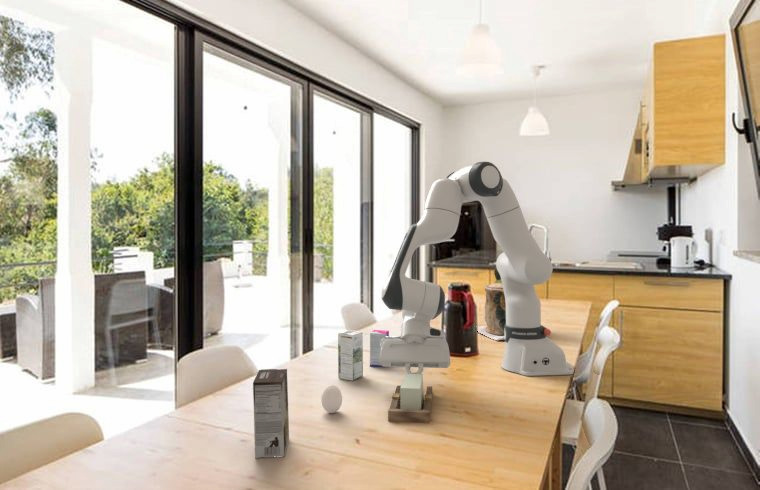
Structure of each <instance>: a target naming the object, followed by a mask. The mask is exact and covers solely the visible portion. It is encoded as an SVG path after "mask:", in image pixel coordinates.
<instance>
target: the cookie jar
mask: <svg viewBox="0 0 760 490" xmlns="http://www.w3.org/2000/svg"><path fill="white" fill-rule="evenodd" d="M493 274H494V277H495V281H494V282H492V283H490V284H488V285H484V291H485V293H486V294H485V304H484V321H485V323H486V325H480V326H478V332H477V333H478V334H480V333H481V334H483V335H482V336H484V335H485V336H484V337H486V336H487V337H486V338H488V337H489V338H488V339H490V338H491V340H493V339H494V340H493V341H495V340H497V341H496V342H499V341H503V340H504V341H505V339H504V328H505V324H506V303H505V295H504V290H503V286H502V281H501V277H500V274H499V272H498V270H497V267H496V266H495V268H494V273H493ZM481 334H480V335H481Z"/></svg>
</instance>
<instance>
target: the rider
mask: <svg viewBox="0 0 760 490" xmlns="http://www.w3.org/2000/svg"><path fill="white" fill-rule="evenodd" d="M423 376H424V375H423V373H421V374H408V373H404V374H403V377H402V381H401V383H400V386H401V387H400V403H399V404H400V409H413V410H423V402H424V401H423V400H424V382H423V381H424V379H423V378H424V377H423Z"/></svg>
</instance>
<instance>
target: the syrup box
mask: <svg viewBox="0 0 760 490" xmlns="http://www.w3.org/2000/svg"><path fill="white" fill-rule="evenodd" d="M337 338H338V339H337V350H338V351H337V352H338V353H337V355H338V357H337V360H338V361H337V362H338V364H337V365H338V367H337V373H338V379H341V380H346V381H352V382H353V381H355V380H357V379H359V378H361V377H363V375H364V374H363V373H364V370H363V369H364V360H363V359H364V355H363V354H364V345H363V344H364V343H363V342H364V341H363V338H364V336H363V332H362V331H361V330H360V331H359V330H354V329H347V330H344V331H341V332H338V334H337Z"/></svg>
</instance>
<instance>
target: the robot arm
mask: <svg viewBox="0 0 760 490" xmlns="http://www.w3.org/2000/svg"><path fill="white" fill-rule="evenodd" d="M475 201H478V202H480V204H481V205H482V208H483V211H484V214H485V217H486V220H487V223H488V225H489V228H490V230H491V234H492V237H493V239H494V240H495V242H496V243H497V244H498V245H499V247H500V248H501V249H502V253H500V254H499V255H498V257H497V258H496V263H495V267H497V270H498V272H499V274H500V277H501V281H502V286H503V290H504V295H505V303H506V324H505V328H504V339H505V340H504V341H505V343H504V351H503V352H504V353H503V357H502V362H501V365H500V366H501V368H502V369H504V370H505V371H509V372H512V373H516V374H520V375H523V376H525V377H526V376H527V377H531V376H532V377H533V376H534V377H537V376H538V377H539V376H561V375H562V376H567V375H573V374H574V373H575V369H574V367H573V365H572V364H571V363H570V362H568V361H567V358H566V355H565V352H564V350H563V349H562V347H561V346H559V345H558V344H557V343H556V342H554V341H553V340H551V338H549V337H548V336H550V335H551V334H552V331H551V330H550V329H549V328H547V327H545V326H544V325H542V323H541V322H542V317H541V315H542V313H541V311H542V309H541V308H542V307H541V306H542V303H541V300H540V297H539V296H538V294H537V292H536V287H535V286H536V285H541V284H542V285H543V284H544V283H546V282H548V281H549V279H550V278H551V277H552V274H553V269H554V267H553V263H552V261H551V259H550V258H549V257H548V256H547V255H546V254H545V252H543V251H542V249H541V248H540V246H539V244H538V242H537V241H536V239H535V238H534V236H533V235H532V233H531V231H530V229H529V228H528V225H527V222H526V220H525V216H524V214H523V211H522V209H521V206H520V204H519V201H518V199H517V196H516V194H515V191H514V190H513V188H512V186H511V184H510V183H509V181H508V180H507V179H505V178H503V177H502V174H501V172H500V170H499V168H498V167H497V166H496V165H495V164H494V163H493V162H491V161H478V162H475V163H473V164H468V165H466V166H463V167H462V168H460V169H458V170H456V171H453V172H451V173H449V174H448V175H447V176H446V177H442V178H439V179H436V180H435V181H433V183H432V184H431V186H430V188H429V191H428V193H427V197H426V199H425V203H424V208H423V211H422V212H423V213H422V215H421V218H420V219H419V220H418V222H416V223H413V224H412V225H410V227H409V228H408V229H407V232H406V233H405V236H404V238H403V240H402V242H401V244H400V248H399V250H398V252H397V254H396V258H395V260H394V262H393V264H392V265H393V266H392V268H391V270H390V272H389V275H388V277H387V279H386V280H385V282H384V285H383V286H382V290H381V301H382V302H383V303H384V305H385V306H386V307H387V308H388V309H389V310H395V311H401V312H402V313H401V318H402V324H401V327H400V328H401V329H400V335H397V336H396V335H395V336H390V335H389V336H386V338H383V339H381V341H380V348H381V351H380V356H379V361H380V364H381V365H382V366H383V367H382V368H386V367H389V368H394V367H395V368H404V369H405V371H406V374H423V372H424V368H427V369H428V368H432V369H433V368H434V369H438V368H439V369H448V368H449V367H450V366H451V352H450V349H449V344H448V343H449V342H447V339H446V332H445V331H444V330H441V329H438V328H436V327H432V326H431V320H434V319H436V318H437V317H439V315H441V314H442V313H443V311H444V309H445V303H446V296H445V295H446V294H445V291H444V289H443V287H442V286H441V285H440V284H437V283H433V282H430V281H429V282H428V281H425V280H419V279H416V278H415V279H414V278H410V277H408V276H407V275H406V273H407V270H408V268H409V265H410V262H411V260H412V257H413V255H414V252H415V250H416V249H418V248H419V247H421V246H425V245H435V244H440V243H443V242H446V241H448V240H450V239H451V238H452V237H453V236H454V235H455V234H456V232H457V230H458V227H459V223H460V218H461V217H460V216H461V211H462V206H463V204H465V203H472V202H475ZM411 368H418V370H417V371H416V372H411Z"/></svg>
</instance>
